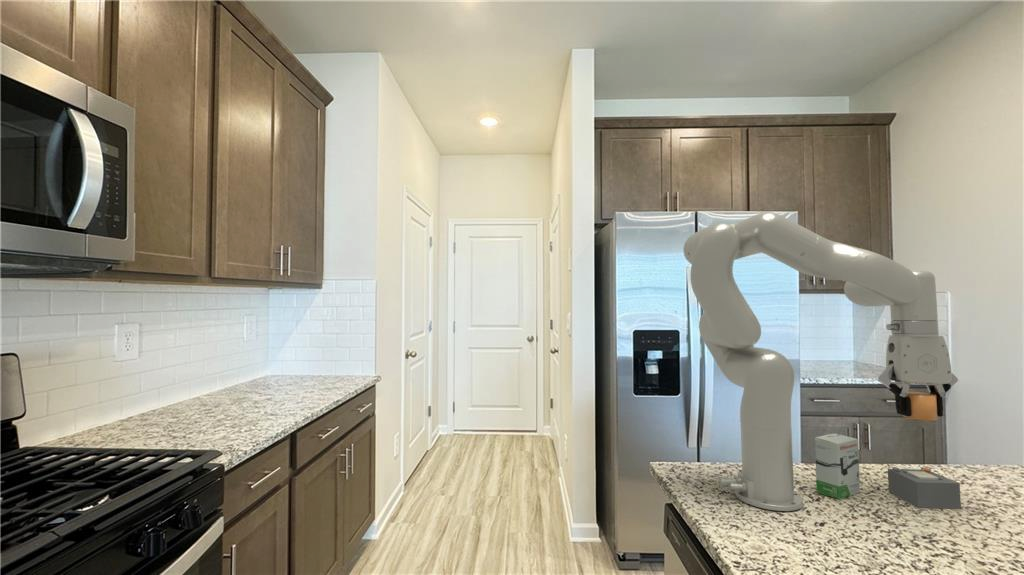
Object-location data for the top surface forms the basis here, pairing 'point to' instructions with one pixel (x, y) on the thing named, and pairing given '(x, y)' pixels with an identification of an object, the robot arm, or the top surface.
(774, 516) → the top surface
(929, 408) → the cap
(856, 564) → the top surface
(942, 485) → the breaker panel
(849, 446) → the ink box
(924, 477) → the button
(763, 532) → the top surface
